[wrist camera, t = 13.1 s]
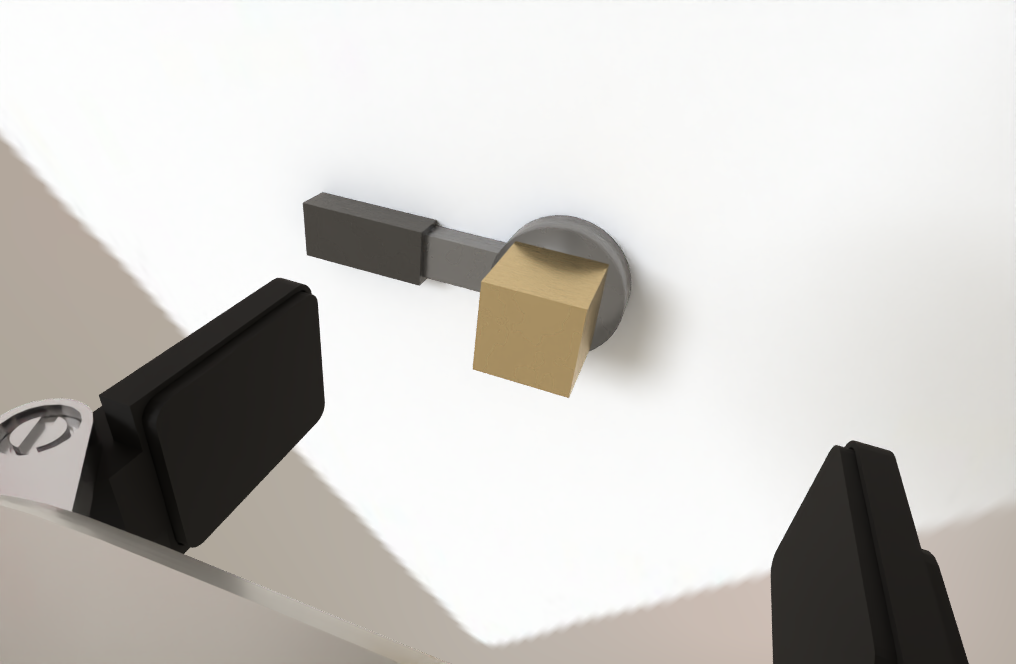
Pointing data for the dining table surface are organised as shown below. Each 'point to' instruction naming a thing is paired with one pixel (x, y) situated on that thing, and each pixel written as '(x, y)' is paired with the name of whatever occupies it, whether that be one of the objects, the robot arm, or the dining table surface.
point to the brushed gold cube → (538, 317)
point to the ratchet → (454, 249)
